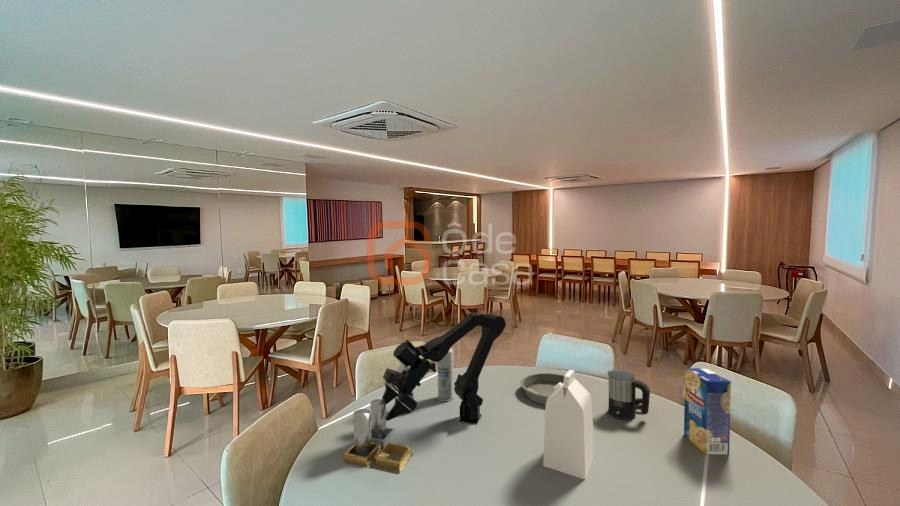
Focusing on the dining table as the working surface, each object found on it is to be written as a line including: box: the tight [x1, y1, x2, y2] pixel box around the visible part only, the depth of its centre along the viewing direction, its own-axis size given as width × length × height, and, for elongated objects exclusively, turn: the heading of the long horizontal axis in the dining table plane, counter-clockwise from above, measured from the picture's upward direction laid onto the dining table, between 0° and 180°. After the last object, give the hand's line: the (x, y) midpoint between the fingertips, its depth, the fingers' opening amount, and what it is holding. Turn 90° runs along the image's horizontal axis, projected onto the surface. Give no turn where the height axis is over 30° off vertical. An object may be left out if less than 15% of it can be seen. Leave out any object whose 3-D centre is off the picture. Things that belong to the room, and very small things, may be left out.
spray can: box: [437, 347, 455, 402], centre depth 148 cm, size 6×6×20 cm
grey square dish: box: [370, 426, 396, 448], centre depth 118 cm, size 8×8×3 cm
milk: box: [542, 369, 595, 480], centre depth 106 cm, size 12×12×26 cm
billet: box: [370, 398, 388, 440], centre depth 118 cm, size 5×5×13 cm
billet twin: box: [352, 408, 371, 457], centre depth 109 cm, size 5×5×13 cm
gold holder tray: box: [342, 442, 414, 475], centre depth 108 cm, size 18×10×3 cm, turn 71°
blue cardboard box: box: [683, 367, 732, 455], centre depth 114 cm, size 7×11×22 cm, turn 177°
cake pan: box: [520, 372, 565, 406], centre depth 152 cm, size 25×25×4 cm
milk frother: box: [607, 369, 651, 421], centre depth 136 cm, size 14×16×15 cm
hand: (382, 413), depth 118 cm, fingers open, 9 cm apart
